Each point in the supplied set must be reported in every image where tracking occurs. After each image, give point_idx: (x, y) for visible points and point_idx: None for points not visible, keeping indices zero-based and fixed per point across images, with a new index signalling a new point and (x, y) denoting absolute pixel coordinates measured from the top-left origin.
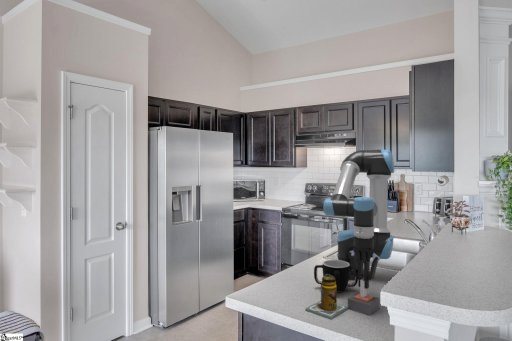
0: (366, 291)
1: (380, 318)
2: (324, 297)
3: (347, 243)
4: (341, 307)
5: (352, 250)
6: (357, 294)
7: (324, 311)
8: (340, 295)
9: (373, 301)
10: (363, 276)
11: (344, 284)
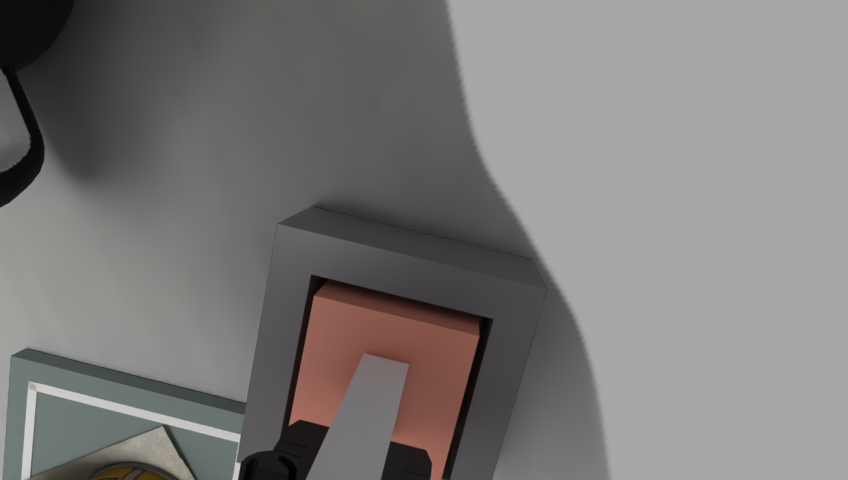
0: (399, 403)
1: (573, 473)
2: None
3: None
4: (226, 457)
5: None
6: (287, 299)
7: None
8: (94, 119)
9: (499, 420)
10: (287, 469)
11: (21, 2)
